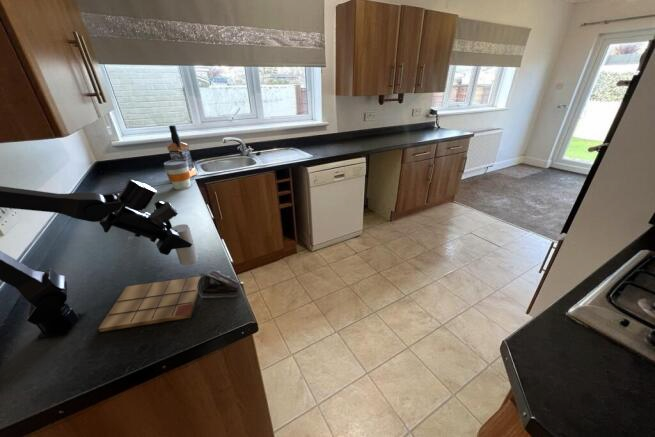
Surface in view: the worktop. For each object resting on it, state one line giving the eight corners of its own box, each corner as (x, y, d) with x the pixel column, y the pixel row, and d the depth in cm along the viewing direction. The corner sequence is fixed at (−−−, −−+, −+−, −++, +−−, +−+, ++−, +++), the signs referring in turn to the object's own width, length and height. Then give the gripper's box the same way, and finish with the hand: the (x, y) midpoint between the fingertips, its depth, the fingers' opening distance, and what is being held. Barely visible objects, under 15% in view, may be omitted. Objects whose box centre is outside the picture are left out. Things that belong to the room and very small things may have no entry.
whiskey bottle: (174, 177, 176) (159, 126, 161) (184, 172, 184) (170, 124, 169) (188, 178, 174) (173, 127, 159) (197, 173, 182) (185, 124, 167)
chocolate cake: (247, 281, 85) (218, 256, 83) (241, 291, 78) (209, 264, 76) (228, 301, 86) (199, 277, 85) (220, 313, 79) (188, 287, 78)
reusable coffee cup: (168, 186, 161) (160, 162, 154) (189, 181, 169) (183, 157, 162) (174, 192, 153) (166, 166, 146) (196, 186, 160) (190, 161, 153)
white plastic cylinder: (177, 266, 84) (166, 233, 79) (182, 256, 89) (172, 225, 83) (196, 264, 85) (186, 231, 80) (199, 254, 90) (190, 223, 84)
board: (99, 332, 69) (97, 328, 68) (127, 289, 83) (126, 286, 82) (190, 317, 72) (189, 314, 72) (203, 278, 86) (202, 275, 86)
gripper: (160, 208, 68) (213, 231, 79) (146, 188, 80) (193, 210, 92) (134, 246, 67) (192, 263, 78) (124, 220, 80) (175, 238, 91)
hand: (188, 241), depth 85 cm, fingers closed on white plastic cylinder, 5 cm apart
